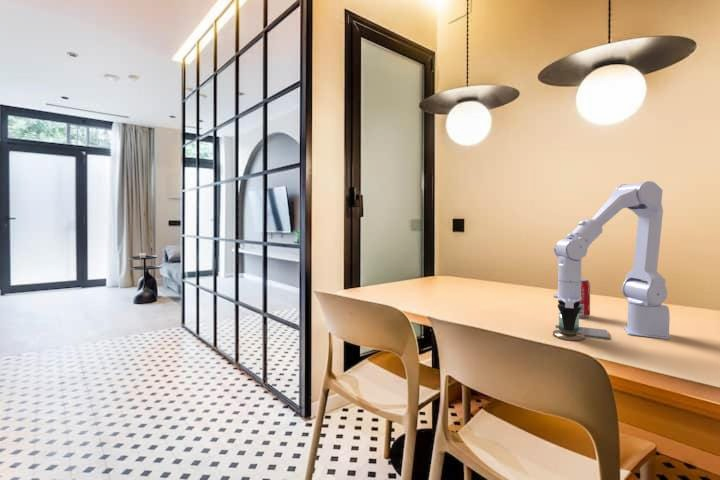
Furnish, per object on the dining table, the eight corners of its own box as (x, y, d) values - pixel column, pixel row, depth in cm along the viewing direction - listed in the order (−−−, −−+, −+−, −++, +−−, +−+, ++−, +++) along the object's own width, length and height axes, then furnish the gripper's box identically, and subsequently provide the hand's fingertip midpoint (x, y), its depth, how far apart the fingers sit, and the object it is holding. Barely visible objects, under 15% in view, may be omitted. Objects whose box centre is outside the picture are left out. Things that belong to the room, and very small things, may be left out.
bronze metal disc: (584, 334, 107) (584, 327, 107) (585, 342, 100) (585, 335, 100) (553, 330, 111) (553, 324, 111) (552, 338, 104) (552, 331, 104)
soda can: (593, 319, 123) (594, 280, 123) (570, 318, 125) (570, 280, 124) (585, 313, 130) (585, 277, 130) (563, 312, 132) (563, 277, 131)
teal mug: (581, 328, 106) (581, 313, 106) (582, 333, 102) (582, 317, 101) (555, 325, 109) (556, 311, 109) (555, 330, 105) (555, 315, 105)
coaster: (606, 331, 109) (606, 329, 109) (609, 339, 102) (609, 337, 102) (575, 328, 113) (575, 326, 113) (576, 335, 106) (576, 333, 106)
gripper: (554, 276, 113) (553, 319, 114) (552, 283, 100) (552, 332, 101) (580, 277, 110) (580, 322, 110) (582, 285, 97) (582, 336, 98)
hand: (568, 327), depth 105 cm, fingers closed on teal mug, 5 cm apart
